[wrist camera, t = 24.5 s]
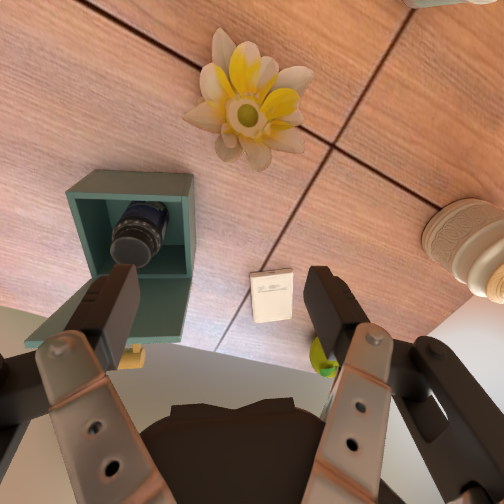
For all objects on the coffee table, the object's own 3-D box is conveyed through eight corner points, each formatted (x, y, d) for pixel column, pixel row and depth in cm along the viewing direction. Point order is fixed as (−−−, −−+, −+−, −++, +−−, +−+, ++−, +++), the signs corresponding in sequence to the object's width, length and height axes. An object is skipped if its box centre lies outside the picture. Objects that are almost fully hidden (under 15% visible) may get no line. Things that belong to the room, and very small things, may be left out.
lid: (23, 341, 23) (35, 387, 25) (180, 335, 25) (182, 378, 27) (90, 278, 36) (95, 311, 38) (192, 277, 38) (192, 309, 40)
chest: (94, 169, 37) (64, 191, 30) (193, 174, 39) (188, 196, 32) (112, 245, 44) (92, 279, 36) (196, 246, 46) (192, 278, 38)
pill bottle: (119, 205, 39) (90, 243, 30) (155, 188, 39) (136, 222, 29) (144, 237, 43) (125, 280, 34) (177, 222, 42) (167, 262, 33)
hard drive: (253, 317, 57) (249, 272, 50) (290, 313, 58) (291, 267, 51) (253, 323, 56) (250, 278, 49) (292, 318, 56) (293, 273, 49)
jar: (502, 213, 49) (624, 270, 35) (448, 265, 55) (532, 332, 40) (459, 184, 45) (578, 235, 30) (405, 244, 51) (482, 311, 36)
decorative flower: (334, 85, 33) (351, 107, 26) (285, 160, 40) (287, 195, 33) (225, 8, 29) (209, 9, 22) (192, 107, 36) (171, 133, 29)
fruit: (312, 322, 60) (327, 361, 52) (348, 326, 62) (368, 364, 54) (298, 348, 65) (311, 388, 56) (332, 350, 67) (349, 389, 59)
